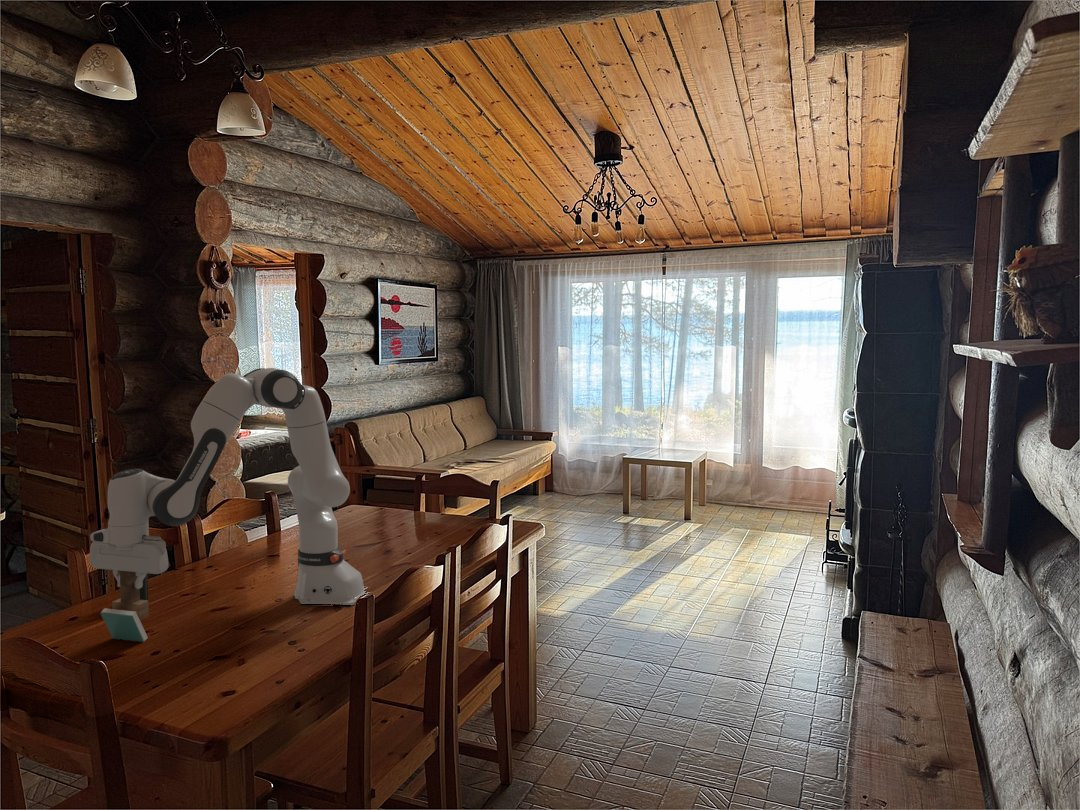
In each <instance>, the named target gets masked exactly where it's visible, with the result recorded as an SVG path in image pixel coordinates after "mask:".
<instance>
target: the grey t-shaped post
mask: <svg viewBox="0 0 1080 810" xmlns="http://www.w3.org/2000/svg"><path fill="white" fill-rule="evenodd" d="M137 577H138V576H136V572H130V571H120V587H119V588H120V591H119V592H120V593H119V594H120V598H117V599H115V600H113V601H112V602H111V604H112V606H111V607H112V608H111V609H116V610H125V611H135V612H136V613H137V615H138V617H139V619H140V621H141V620H143V619H146V618H148V617H149V616H150V610H149V608H150V606H149V605H150V604H149V599H148V600H140V589H135V588H133V582H134V581H136V579H137Z"/></svg>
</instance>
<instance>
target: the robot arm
mask: <svg viewBox="0 0 1080 810" xmlns="http://www.w3.org/2000/svg"><path fill="white" fill-rule="evenodd" d="M254 405H258V406H261V407H265V408H275V409H281V410H282V411H283V412H282V413H283V414H284V416H285V423H286V429H287V433H288V438H289V443H290V450H291V453H292V455H293V457H295V460H296V461H297V463H298V465H297V466H295V467H294V468H293V469H292V470H291V471H290V473H289V474H288V477H287V486H288V488H289V490H290V492H291V494H292V498H293V502H294V506H295V507H294V508H295V511H296V516H297V521H298V536H299V537H298V540H299V541H298V543H299V546H298V549H297V566H298V575H297V580H296V581H297V583H296V588H295V591H294V595H293V597H294V596H295V597H294V599H295V600H297V599H298V600H297V601H299V604H300V603H301V604H331V605H330V606H333V605H332V604H340V605H341V604H343V605H351V606H355V605H356V604H355V602H356V600H357V599H358V598H359V597H360V596H362V595H364V594H368V593H372V591H371V592H367V593H365V592H366V591H364V590H365V589H367V588H368V587H369V586H364V581H363V576H362V573H361V572H360V571H359V570H357V569H356V568H355V567H354V566H352V565H351V564H350V563H348V562H347V561H346V560H344V555H345V554H346V551H347V549H344V550H341V549H340V547H339V545H338V544H339V543H338V535H339V534H338V533H339V532H338V530H339V529H338V526H339V525H338V520H337V518H336V516H335V514H334V510H333V508H336V507H339V506H341V505H343V504H344V503H345V502H346V501H347V500H348V499H349V496H350V493H351V487H350V482H349V481H348V479H347V478H346V477H345V475H344V473H343V472H342V470H341V468H340V464H339V462H338V460H337V458H336V455H335V453H334V450H333V447H332V444H331V441H330V440H331V439H330V435H329V428H328V425H327V419H326V414H325V410H324V407H323V404H322V400H321V397H320V394H319V393H318V391H317V390H316V389H315V388H314V387H312V386H310V385H304V384H301V382H300V380H299V378H298V377H296V375H294V374H293V373H292V372H290V371H288V370H286V369H281V368H277V367H276V368H275V367H268V368H264V367H263V368H256V369H255V368H254V369H253V370H251V371H249V372H247V373H246V374H244V375H242V374H238V373H232V372H230V373H226V374H224V375H222V376H221V377H220V378H219V379H218V380H217V381H216V382H215V383H214V384H213V385H212V386H211V388H210V389H209V390H208V391H207V393H206V395H204V397H203V399H202V400H201V402H200V403H199V405H198V406H197V408H196V410H195V412H194V414H193V417H192V419H191V422H190V429H191V432H192V436H193V448H192V452H191V453H190V456H189V457H188V459H187V461H186V463H185V464H184V466H183V468H182V470H181V471H180V473H179V475H178V477H177V479H171V478H165V477H162V476H161V477H160V476H157V475H154V474H152V473H149V472H147V471H145V470H144V469H142V468H130V469H124V470H121V471H118V472H117V473H115V474H113V475H112V476H111V477H110V478H109V482H108V485H107V510H108V513H109V519H108V521H107V527H105V528H102V529H100V530H97V531H94V532H92V533H90V535H89V536H90V540H91V544H90V545H89V546H90V547H89V562H90V566H91V567H92V568H93V569H99V570H110V571H111V570H112V574H113V577H114V578H115V580H116V581H117V585H116V586H117V587H118V588H120V571H130V572H136V576H138V577H137V579H136V581H134V582H133V588H135V589H140V588H142V586H143V580H144V578H145V576H146V574H147V575H148V574H150V575H151V574H152V575H159V574H162V573H164V572H166V571H167V570H168V568H169V557H168V551H167V548H166V547H167V544H166V541H165V540H164V539H162V537H161V536H158V535H155V536H154V535H150V534H149V532H150V531H149V527H150V526H149V518H151V517H155V518H156V519H157V520H158V521H159V522H160V523H162V524H164V525H165V526H170V527H177V526H181V525H185V524H186V523H189V522H190V521H191V520H193V518H195V516H196V515H197V513H198V510H199V507H200V503H201V502H200V501H201V495H202V492H203V489H204V487H205V485H206V484H207V481H208V479H209V477H210V476H211V473H212V472H213V470H214V469H215V467H216V464H217V463H218V461H219V458H220V457H221V455H222V452H223V451H224V449H225V447H226V445H227V444H228V442H229V440H230V438H231V437H232V435H233V434H234V432H235V430H236V429H237V427H238V426H239V424H240V423H241V421H242V419H243V418H244V416H245V414H246V412H248V410H249V409H250V408H251V407H253V406H254ZM364 587H366V588H364ZM301 604H300V605H301Z"/></svg>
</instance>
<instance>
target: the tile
mask: <svg viewBox="0 0 1080 810" xmlns="http://www.w3.org/2000/svg"><path fill="white" fill-rule="evenodd" d="M99 613H100V615H101V618H102V620H103V622H104V623H105V626H106V627H107V630H108V632H109V634H110V636H111V638H112V639H113V640H120V639H122V640H123V641H129V640H130V641H131V642H137V641H138V642H139V643H144V642H145V641H146V640H147V639H148V638H149V637H148V635H147V633H146V631H145V629H144V626H143V623H142V622H141V620H140V619H139V617H138V615H137V613H136V612H135V611H125V610H116V609H112V608H107V607H105V608H103V609H102V611H101V612H99ZM122 640H121V641H122Z"/></svg>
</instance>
